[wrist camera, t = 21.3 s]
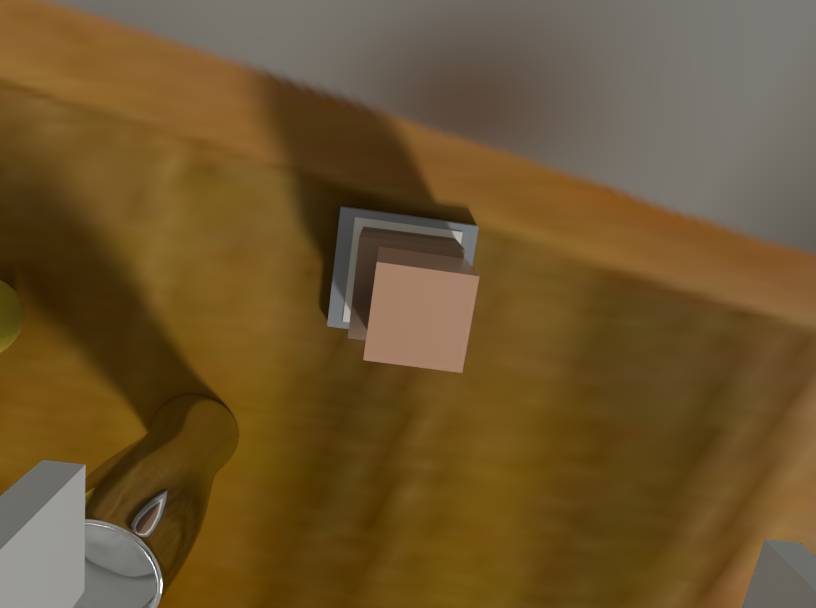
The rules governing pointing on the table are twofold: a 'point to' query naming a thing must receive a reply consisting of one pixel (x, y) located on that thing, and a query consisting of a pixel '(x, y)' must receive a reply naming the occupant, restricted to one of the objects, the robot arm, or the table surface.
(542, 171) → the table surface
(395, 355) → the terracotta cube
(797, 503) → the table surface
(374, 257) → the walnut block
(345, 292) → the slate picture frame
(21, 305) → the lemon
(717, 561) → the table surface
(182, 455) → the beer glass
